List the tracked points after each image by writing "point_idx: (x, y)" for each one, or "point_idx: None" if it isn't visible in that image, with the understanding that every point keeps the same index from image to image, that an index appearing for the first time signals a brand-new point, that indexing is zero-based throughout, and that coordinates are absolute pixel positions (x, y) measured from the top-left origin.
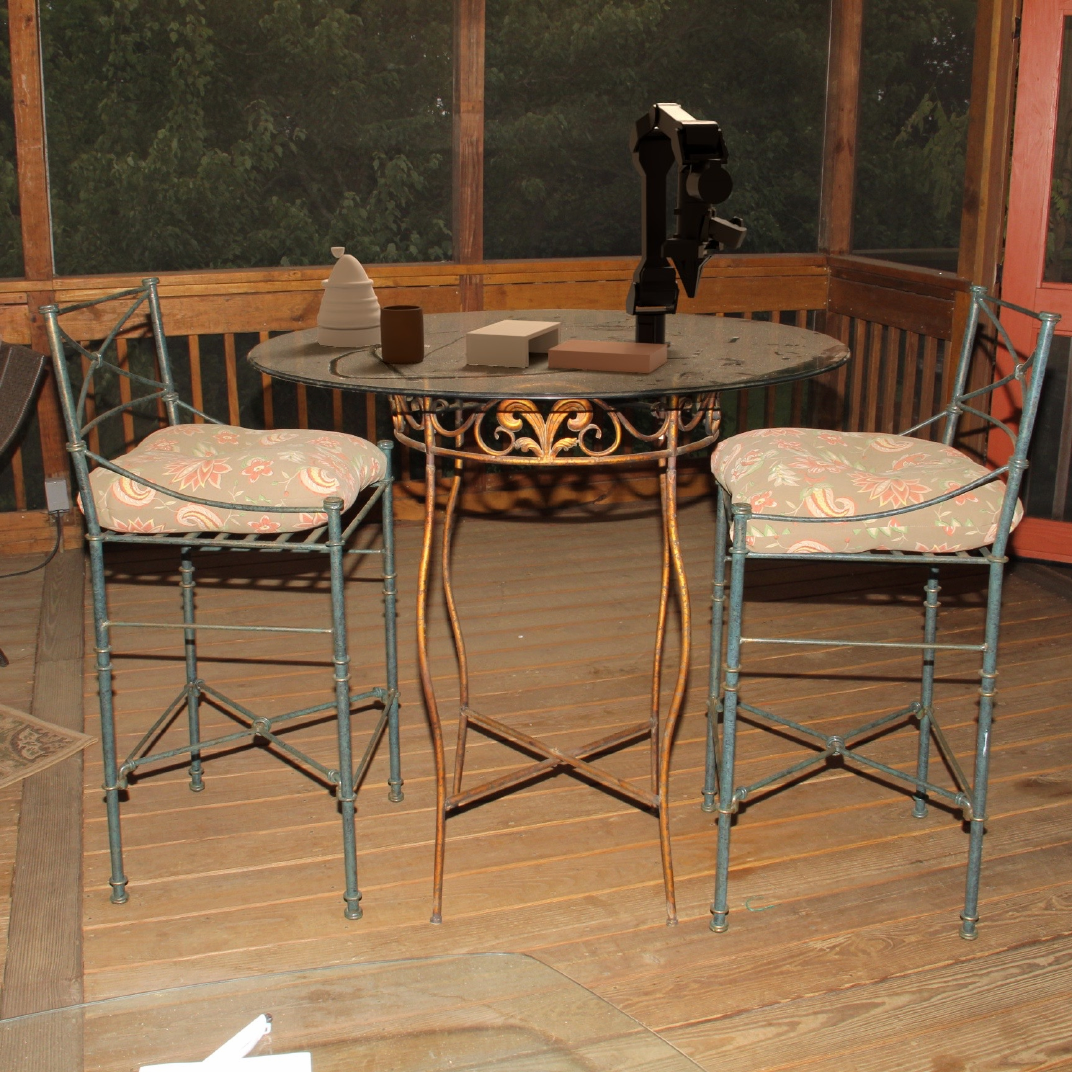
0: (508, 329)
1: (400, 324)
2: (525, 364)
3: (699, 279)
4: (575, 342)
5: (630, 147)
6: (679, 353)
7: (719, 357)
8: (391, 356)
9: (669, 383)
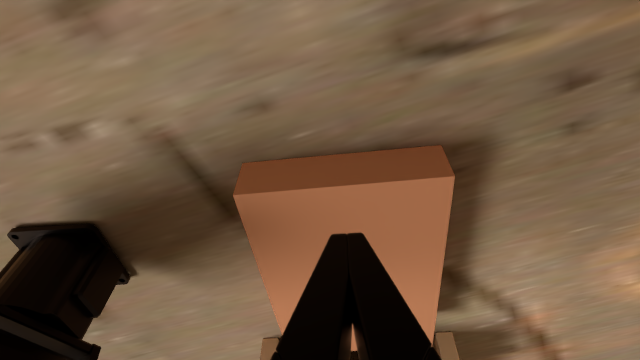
0: None
1: None
2: (453, 339)
3: (321, 335)
4: None
5: None
6: (100, 174)
7: (63, 48)
8: None
9: (626, 34)
